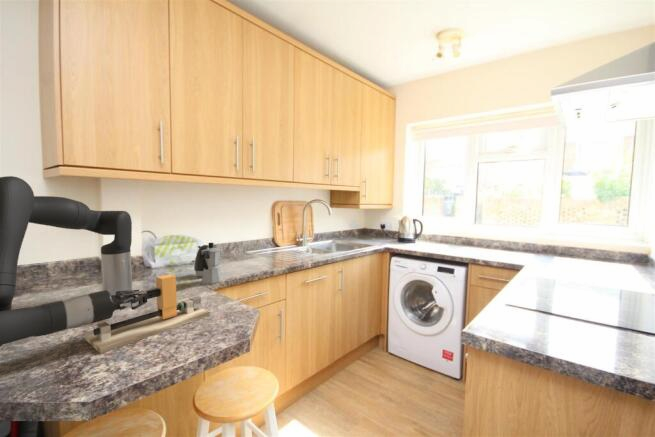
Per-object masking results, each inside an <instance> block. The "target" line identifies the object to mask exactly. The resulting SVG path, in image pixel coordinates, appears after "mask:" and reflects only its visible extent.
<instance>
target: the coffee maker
mask: <svg viewBox="0 0 655 437" xmlns="http://www.w3.org/2000/svg"><path fill="white" fill-rule="evenodd" d="M207 244H208V246H209V248H208V249H205V250H202V251H201V252H202V259H201V260H202V263H203V265H204V271H203V277H202V279H201V280H202V281H201V284H203V283H204V284H203V285H216V284H221V283H222V282H223V277H222V272H221V267H220V263H221V255H222V254H221V253H222V250H221V249H220V248H217V247H216V248H215V247H214V242H208V243H207Z"/></svg>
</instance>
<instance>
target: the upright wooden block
mask: <svg viewBox="0 0 655 437" xmlns="http://www.w3.org/2000/svg"><path fill="white" fill-rule="evenodd" d="M155 283H156V284H155V286H156V287H155V288H158V289H160V291H161V295H160V296H158V297H156V306H157V311H158V310H162V315H160V316H158V317H160V318H162V319H166V318H169V317H172V316H175V315H177V308H176V305H178V298H177V296H178V294H177V276H176V275H173V274H170V273H168V274H164V275H160V276H159V275H158V276H156V277H155Z"/></svg>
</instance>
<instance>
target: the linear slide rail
mask: <svg viewBox="0 0 655 437" xmlns="http://www.w3.org/2000/svg"><path fill="white" fill-rule="evenodd" d="M201 307H202V298H201V297H199V296H197V295H195V296H191V297H189V298H185V299H182V300H181V302H179V303H178V302H177V305H176V308H177V315H175V316H172V317H169V318H166V319H162V318H160V317H158V316H160V315H162V310H158V309H157V310H156V311H151V312H148V313H145V314H142V315H138V316H134V317H132V318H128V319H125V320H121V321H118V322H115V323H111V324H109V323H108V322H107V321H104V322H100V323H99V322H98V323H97V324H96V323H95V324H96V328H94V329H93V330H92V333H88V334H85V335H84V340H85V341H86V342H88V344H89V345H91V346H92V347H93V348H94V349H95V350H96V351H97V352H98V353H99V354H103V353H106V352H109V351H113V350H115V349H118V348H120V347H124V346H126V345H129V344H132V343H135V342H138V341H141V340H144V339H147V338H149V337H152V336H156V335H158V334H160V333H164V332H166V331H169V330H172V329H174V328H175V329H176V328H178V327H181V326H184V325H186V324H189V323H192V322H195V321H198V320H201V319H203V318H206V317H209V316H210V315H211V312H210V311H209V310H206V309H203V308H201Z"/></svg>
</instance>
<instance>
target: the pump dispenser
mask: <svg viewBox="0 0 655 437" xmlns="http://www.w3.org/2000/svg"><path fill="white" fill-rule="evenodd" d="M197 247H198V250H197V252H196V256H195V258H194V266H193V270H194V272H195V274H196V275H197V276H198V277H200V278H203V271H204V265H203V263H202V260H201V259H202V252H201V251H202V250H205V249H208V248H209V245H207V244H203V245H197Z"/></svg>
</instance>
